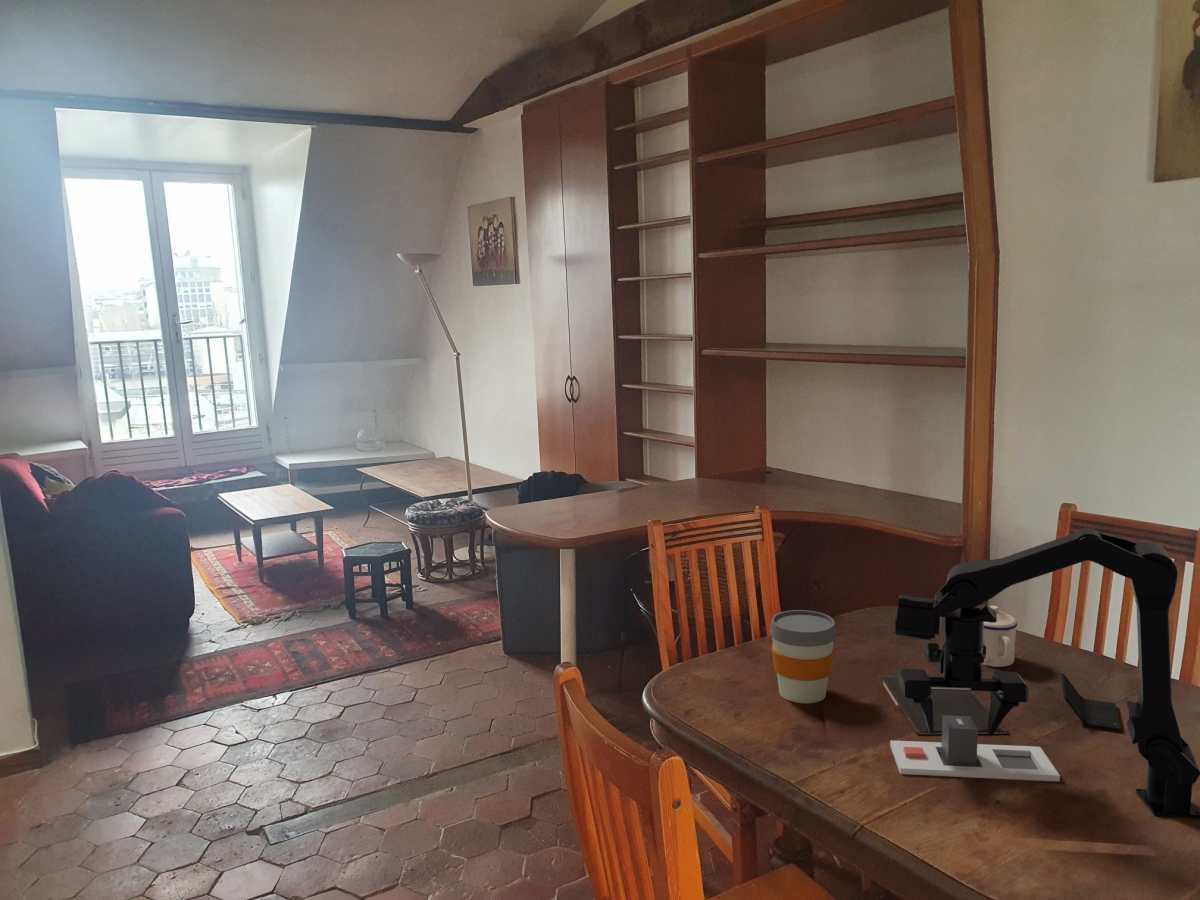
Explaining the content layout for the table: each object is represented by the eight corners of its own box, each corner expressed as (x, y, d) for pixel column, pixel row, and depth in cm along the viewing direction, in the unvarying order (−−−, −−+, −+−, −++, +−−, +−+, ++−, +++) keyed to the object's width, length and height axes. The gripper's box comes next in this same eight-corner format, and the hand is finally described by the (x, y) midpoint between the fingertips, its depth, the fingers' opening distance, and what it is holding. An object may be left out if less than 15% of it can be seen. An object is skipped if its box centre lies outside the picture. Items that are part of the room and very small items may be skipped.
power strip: (1059, 787, 136) (1060, 771, 135) (836, 776, 141) (836, 760, 140) (1039, 757, 144) (1040, 742, 144) (830, 748, 150) (830, 733, 149)
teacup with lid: (961, 651, 188) (963, 600, 186) (1002, 650, 188) (1004, 598, 186) (986, 674, 176) (988, 620, 174) (1030, 673, 176) (1033, 618, 174)
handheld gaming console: (1135, 725, 151) (1096, 677, 152) (1097, 746, 153) (1060, 699, 154) (1116, 705, 162) (1080, 660, 164) (1082, 725, 164) (1047, 681, 165)
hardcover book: (916, 743, 152) (916, 731, 151) (880, 685, 174) (880, 675, 174) (1009, 743, 151) (1010, 730, 150) (961, 685, 173) (962, 674, 173)
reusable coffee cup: (802, 674, 180) (802, 605, 177) (849, 696, 169) (850, 623, 167) (756, 690, 173) (756, 618, 170) (802, 713, 162) (803, 638, 160)
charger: (976, 769, 139) (978, 728, 138) (947, 768, 140) (949, 727, 139) (968, 755, 144) (970, 715, 143) (941, 754, 144) (942, 714, 143)
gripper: (1009, 626, 145) (1005, 713, 148) (893, 623, 148) (891, 709, 150) (1032, 652, 134) (1027, 746, 137) (906, 649, 137) (904, 741, 140)
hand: (960, 734), depth 141 cm, fingers open, 9 cm apart
